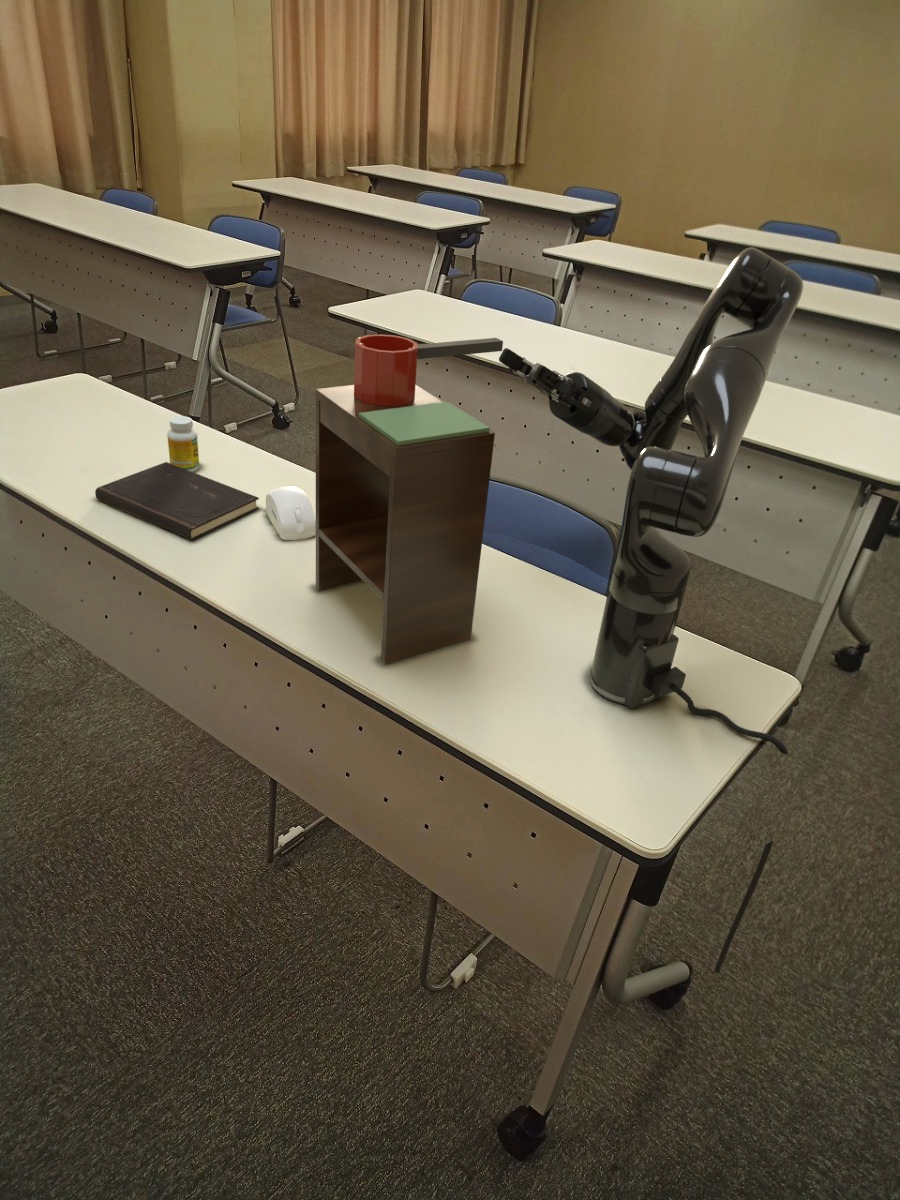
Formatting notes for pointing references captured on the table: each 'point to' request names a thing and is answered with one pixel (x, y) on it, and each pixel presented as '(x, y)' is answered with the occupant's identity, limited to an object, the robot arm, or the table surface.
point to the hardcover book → (178, 500)
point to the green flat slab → (423, 423)
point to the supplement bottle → (183, 443)
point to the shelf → (401, 521)
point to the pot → (402, 365)
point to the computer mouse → (291, 513)
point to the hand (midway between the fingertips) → (519, 362)
